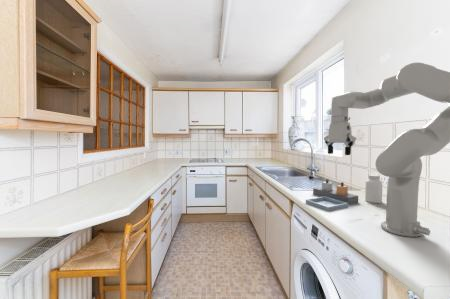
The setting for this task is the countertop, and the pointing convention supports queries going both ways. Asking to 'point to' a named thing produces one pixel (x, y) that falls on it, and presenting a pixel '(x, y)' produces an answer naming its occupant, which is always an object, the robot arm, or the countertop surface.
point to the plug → (342, 189)
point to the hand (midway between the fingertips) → (338, 154)
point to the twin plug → (327, 185)
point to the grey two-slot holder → (336, 195)
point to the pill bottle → (373, 189)
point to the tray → (326, 203)
